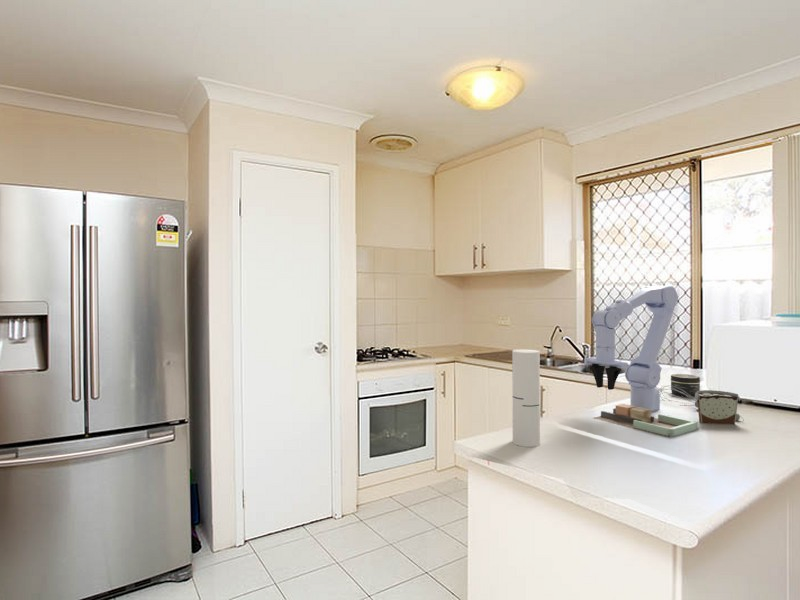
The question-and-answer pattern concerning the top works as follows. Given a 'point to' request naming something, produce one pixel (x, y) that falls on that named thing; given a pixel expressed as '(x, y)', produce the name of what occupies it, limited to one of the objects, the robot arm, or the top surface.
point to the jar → (685, 384)
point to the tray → (682, 428)
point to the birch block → (641, 414)
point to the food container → (717, 406)
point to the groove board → (631, 421)
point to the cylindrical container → (526, 397)
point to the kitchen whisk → (689, 401)
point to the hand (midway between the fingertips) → (605, 388)
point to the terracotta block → (624, 410)
